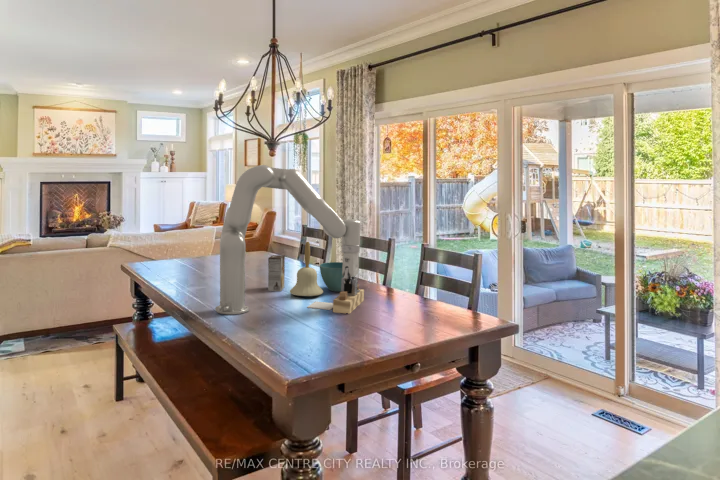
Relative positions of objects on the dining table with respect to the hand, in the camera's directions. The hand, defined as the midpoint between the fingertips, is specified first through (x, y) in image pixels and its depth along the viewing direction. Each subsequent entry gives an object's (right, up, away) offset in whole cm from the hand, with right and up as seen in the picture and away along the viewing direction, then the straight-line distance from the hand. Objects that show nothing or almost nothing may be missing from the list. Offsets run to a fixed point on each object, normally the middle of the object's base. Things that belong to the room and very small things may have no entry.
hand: (349, 291), depth 206 cm
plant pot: (-6, -3, +32) cm, 33 cm away
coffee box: (-36, -2, +29) cm, 46 cm away
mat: (-11, -6, -1) cm, 13 cm away
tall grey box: (0, -1, 0) cm, 1 cm away
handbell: (-20, -4, +18) cm, 27 cm away
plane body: (0, -6, +1) cm, 6 cm away
